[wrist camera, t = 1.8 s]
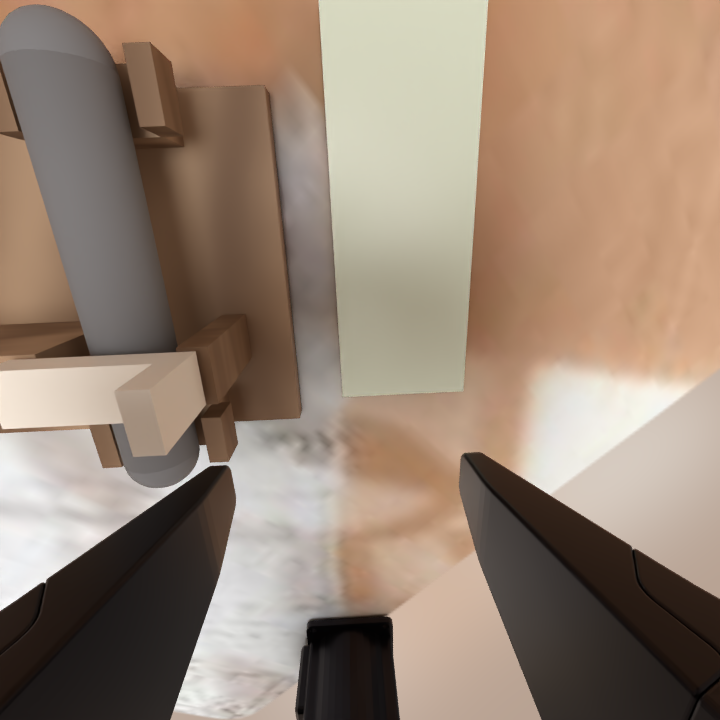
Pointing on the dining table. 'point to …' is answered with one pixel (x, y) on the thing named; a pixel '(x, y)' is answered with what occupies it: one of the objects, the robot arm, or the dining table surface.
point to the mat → (402, 186)
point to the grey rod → (93, 200)
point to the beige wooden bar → (106, 395)
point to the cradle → (172, 248)
